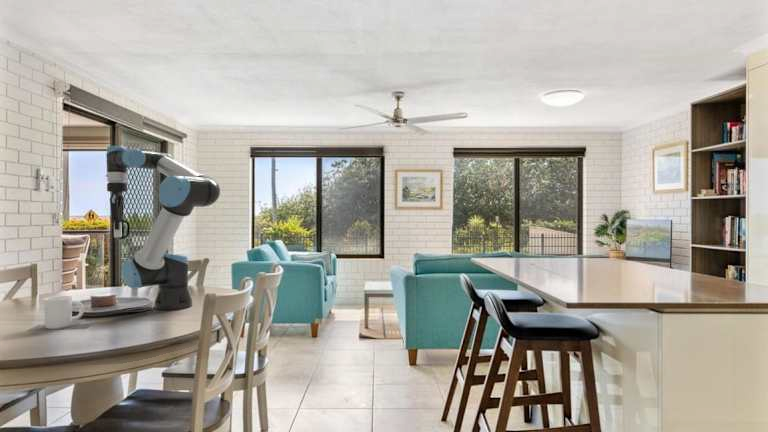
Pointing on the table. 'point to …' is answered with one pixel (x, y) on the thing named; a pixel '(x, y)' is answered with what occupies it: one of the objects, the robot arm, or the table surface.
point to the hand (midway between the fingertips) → (117, 237)
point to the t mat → (74, 325)
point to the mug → (60, 311)
